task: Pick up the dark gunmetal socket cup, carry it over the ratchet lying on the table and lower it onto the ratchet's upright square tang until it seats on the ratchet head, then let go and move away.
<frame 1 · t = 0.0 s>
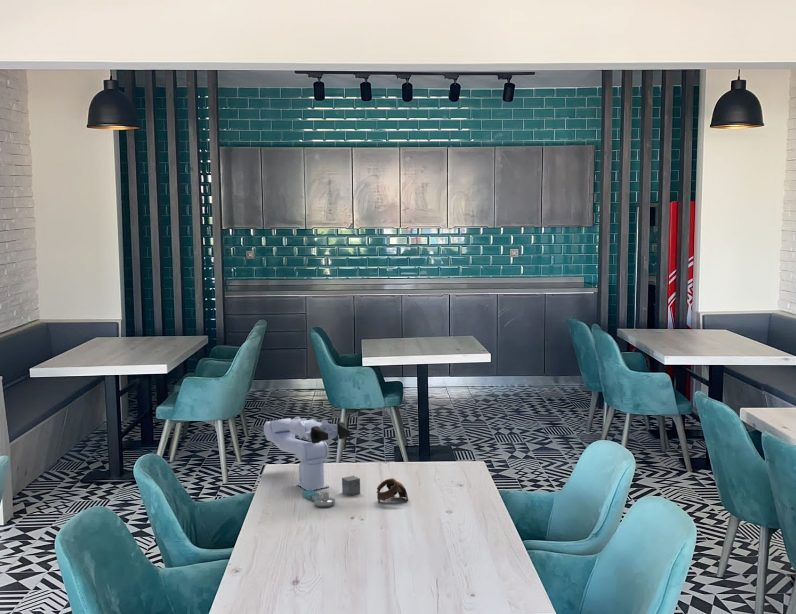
hand: (337, 434, 271), 22 cm above the table, tool horizontal, fingers open, 7 cm apart
brown openwork dome: (392, 501, 272), on the table
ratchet: (324, 504, 269), on the table
socket: (351, 492, 281), on the table
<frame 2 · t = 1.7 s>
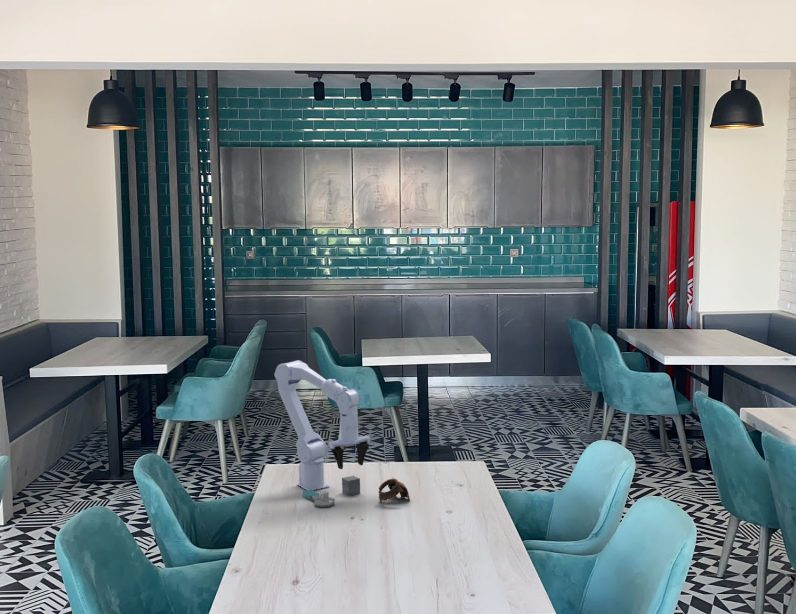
hand: (350, 466, 280), 9 cm above the table, tool pointing down, fingers open, 7 cm apart
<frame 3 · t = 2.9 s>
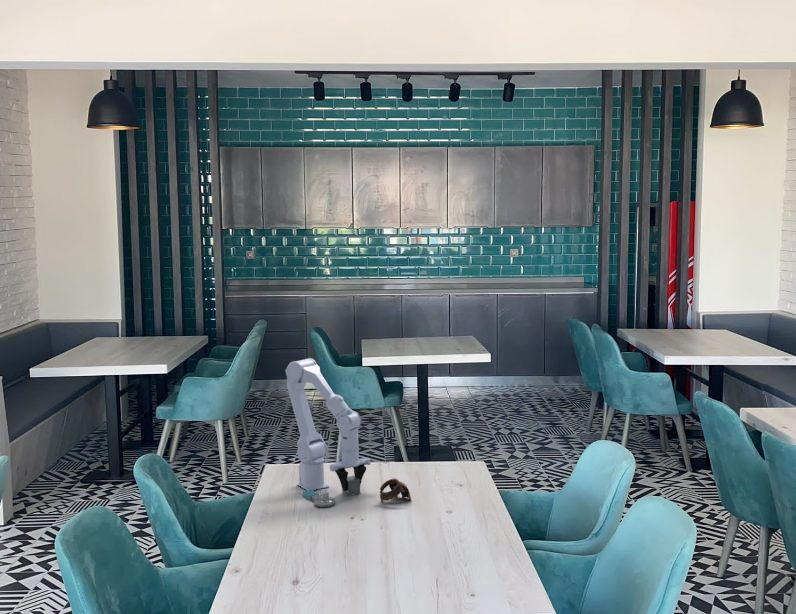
hand: (351, 488, 280), 1 cm above the table, tool pointing down, fingers closed on socket, 4 cm apart
socket: (351, 492, 281), on the table, touching gripper
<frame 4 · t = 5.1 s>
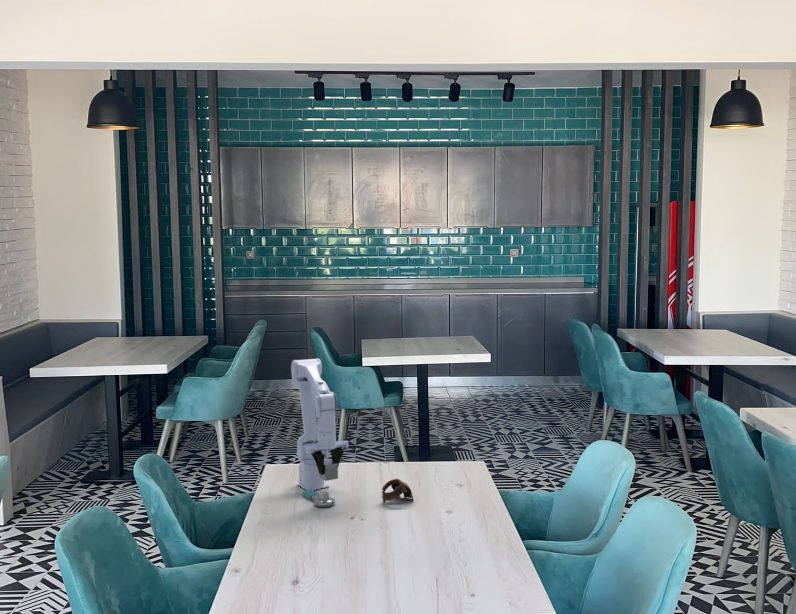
hand: (328, 472, 270), 10 cm above the table, tool pointing down, fingers closed on socket, 4 cm apart
socket: (328, 478, 270), point 8 cm above the table, touching gripper
when the fingers open (4 cm above the table, at t = 7.4 s): socket stays where it is, resting on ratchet.
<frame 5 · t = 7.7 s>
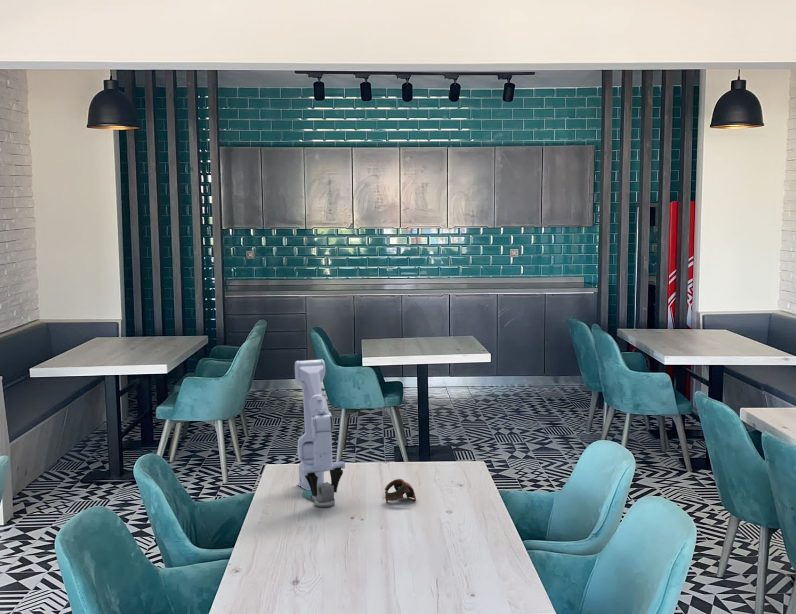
hand: (324, 493, 268), 4 cm above the table, tool pointing down, fingers open, 6 cm apart
socket: (324, 500, 268), point 1 cm above the table, touching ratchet
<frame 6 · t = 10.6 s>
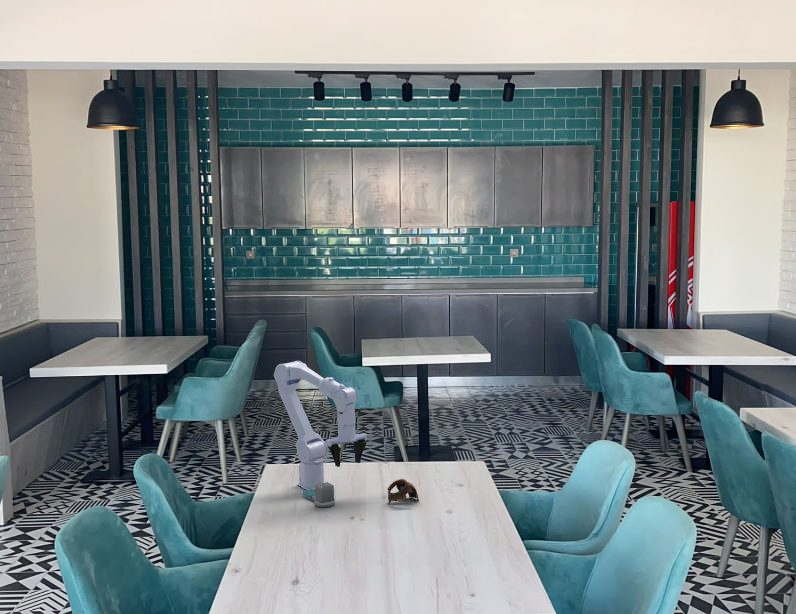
hand: (347, 464, 279), 10 cm above the table, tool pointing down, fingers open, 7 cm apart
at the end: socket 0.2 cm off-centre on the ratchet, point 1.5 cm above the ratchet's base; socket tilted 0°; the gripper is holding nothing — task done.
